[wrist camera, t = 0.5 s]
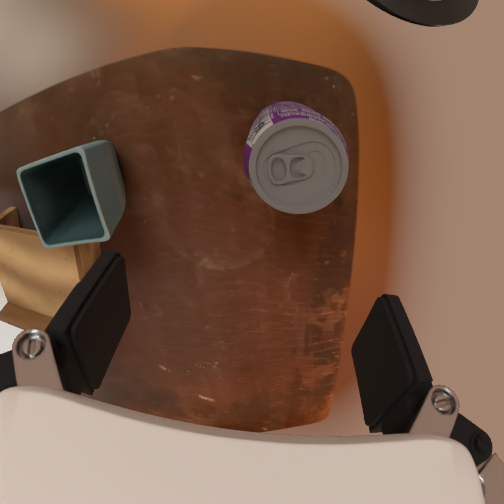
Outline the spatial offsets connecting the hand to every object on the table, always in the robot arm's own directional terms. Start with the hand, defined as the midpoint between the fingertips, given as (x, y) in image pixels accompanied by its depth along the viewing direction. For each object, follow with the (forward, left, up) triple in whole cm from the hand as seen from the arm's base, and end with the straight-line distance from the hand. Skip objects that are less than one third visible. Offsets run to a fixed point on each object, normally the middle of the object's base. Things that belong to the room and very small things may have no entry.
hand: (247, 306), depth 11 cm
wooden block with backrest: (+16, -26, -22) cm, 38 cm away
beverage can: (-3, +2, -22) cm, 22 cm away
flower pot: (+4, -17, -22) cm, 28 cm away
